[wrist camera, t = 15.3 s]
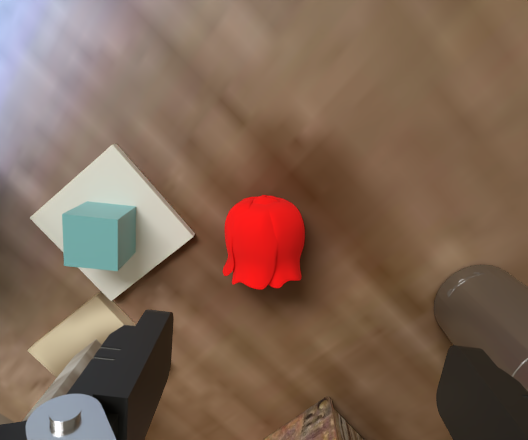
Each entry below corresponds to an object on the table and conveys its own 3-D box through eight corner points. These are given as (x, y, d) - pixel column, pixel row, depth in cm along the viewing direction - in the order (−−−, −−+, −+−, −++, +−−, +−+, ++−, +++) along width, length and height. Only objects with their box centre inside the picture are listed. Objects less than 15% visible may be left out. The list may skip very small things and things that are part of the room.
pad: (195, 233, 42) (193, 236, 41) (114, 296, 45) (110, 301, 44) (116, 143, 40) (112, 144, 39) (35, 215, 42) (29, 217, 41)
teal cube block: (136, 206, 41) (117, 219, 36) (135, 252, 42) (117, 271, 37) (87, 201, 41) (62, 214, 36) (88, 247, 42) (64, 265, 37)
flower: (323, 201, 36) (317, 284, 38) (284, 187, 43) (281, 258, 45) (240, 205, 33) (239, 296, 35) (213, 190, 40) (213, 266, 41)
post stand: (168, 358, 47) (135, 436, 36) (101, 405, 49) (51, 494, 38) (101, 289, 44) (44, 350, 33) (35, 342, 47) (-40, 417, 35)
